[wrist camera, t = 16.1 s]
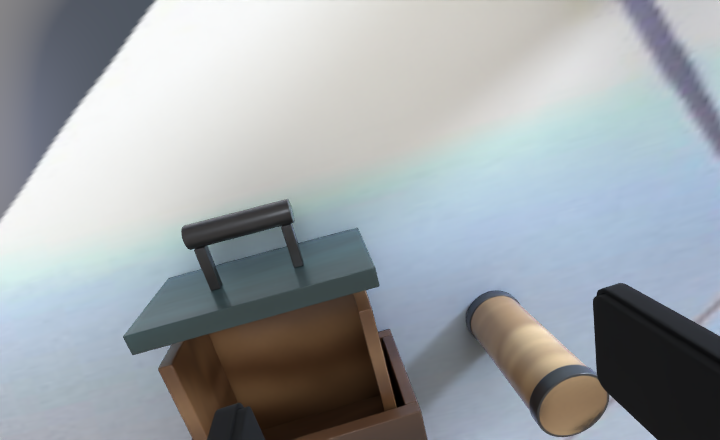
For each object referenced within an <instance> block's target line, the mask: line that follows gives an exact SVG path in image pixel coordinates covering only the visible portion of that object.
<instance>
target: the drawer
mask: <svg viewBox="0 0 720 440" xmlns="http://www.w3.org/2000/svg"><path fill="white" fill-rule="evenodd" d="M292 223H294V215H293V211H292V208H291V205H290V202H289V200H288V199H285V200H281V201H278V202H274V203H270V204H266V205H262V206H258V207H254V208H251V209H247V210H243V211H239V212H235V213H231V214H227V215H224V216H220V217H216V218H212V219H208V220H204V221H200V222H197V223H193V224H189V225H185V226H183V227H182V231H181V232H182V239H183V242H184V244H185V246H186V247H187V248H188V249H190V250H192V249H195V250H194V251H195V254H196V256H197V259H198V261H199V263H200V266H201V268H202V270H198V271H194V272H190V273H187V274H183V275H179V276H175V277H172V278H169V279H168V280H167V281H166V282H165V284H164V285H163V286H162V287H161V289H160V290H159V291H158V293H157V294H156V295H155V296H154V298H153V299H152V300H151V302H150V303H149V304H148V305H147V307H146V308H145V309H144V311H143V312H142V313H141V314H140V316H139V317H138V318H137V319H136V321H135V322H134V323H133V325H132V326H131V327H130V328H129V330H128V331H127V332H126V334H125V335H124V336H123V338H124V340H125V342H126V344H127V346H128V348H129V349H130V351H131V353H132V355H135V354H139V353H143V352H146V351H150V350H153V349H157V348H160V347H164V346H168V345H171V344H172V345H171V346H170V348H169V350H168V352H167V354H166V355H165V357H164V359H163V361H162V363H161V364H160V366H159V368H158V370H159V372H160V374H161V376H162V378H163V380H164V382H165V384H166V386H167V388H168V390H169V392H170V394H171V396H172V398H173V400H174V402H175V404H176V406H177V408H178V410H179V412H180V414H181V416H182V418H183V420H184V422H185V424H186V426H187V428H188V430H189V432H190V434H191V436H192V438H193V440H207V438H208V435H209V431H210V428H211V424H212V421H213V417H214V414H215V412H216V411H217V410H218V409H221V408H224V407H227V406H230V405H233V404H237V403H241V404H242V405H243V406H244V407H247V406H249V407H250V408H251V409H252V411H253V413H254V416H255V418H256V420H257V422H258V425H259V427H260V429H261V431H262V433H263V436H264V438H265V440H292V439H295V438H299V437H302V436H305V435H309V434H312V433H315V432H318V431H322V430H325V429H328V428H332V427H335V426H338V425H342V424H345V423H348V422H351V421H355V420H358V419H361V418H365V417H368V416H371V415H375V414H378V413H381V412H385V411H388V410H391V409H394V408H397V406H396V402H395V398H394V394H393V390H392V386H391V382H390V378H389V374H388V371H387V367H386V363H385V359H384V355H383V351H382V347H381V343H380V339H379V335H378V331H377V327H376V323H375V319H374V315H373V311H372V308H371V305H370V302H369V299H368V296H367V293H366V290H368V289H371V288H375V287H379V282H378V278H377V273H376V269H375V266H374V264H373V262H372V259H371V257H370V255H369V252H368V250H367V248H366V246H365V243H364V241H363V239H362V236H361V234H360V232H359V229H358V228H355V229H351V230H347V231H343V232H340V233H336V234H332V235H329V236H325V237H321V238H317V239H314V240H310V241H306V242H302V243H299V244H298V242H297V238H296V235H295V232H294V229H293V225H292ZM279 226H281V229H282V232H283V235H284V238H285V241H286V244H287V247H284V248H280V249H276V250H273V251H269V252H265V253H261V254H258V255H254V256H250V257H246V258H243V259H239V260H235V261H231V262H228V263H224V264H220V265H217V266H215V264H214V261H213V259H212V256H211V254H210V251H209V248H208V246H207V245H211V244H215V243H218V242H222V241H226V240H230V239H234V238H237V237H241V236H245V235H249V234H252V233H256V232H260V231H264V230H268V229H271V228H275V227H279Z"/></svg>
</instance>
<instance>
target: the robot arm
mask: <svg viewBox="0 0 720 440" xmlns="http://www.w3.org/2000/svg"><path fill="white" fill-rule="evenodd" d="M593 310H594V329H595V347H596V366H597V378H598V380H599V382H600V384H601V386H602V387H603V388H604V390H605V391H606V392H607V393H609V394H610V395H611V396H612V397H613V398H614V399H615V400H616V401H617V402H618V403H619V404H620V405H621V406H622V407H623V408H624V409H625V410H627V411H628V412H629V413H630V414H631V415H632V416H633V417H634V418H635V419H636V420H637V421H638V422H639V423H640V424H641V425H642V426H644V427H645V428H646V429H647V430H648V431H649V432H650V433H651V434H652V435H653V436H654V437H655V438H656V439H657V440H720V336H718V335H717V334H715V333H713V332H711V331H709V330H708V329H706V328H704V327H702V326H700V325H698V324H697V323H695V322H693V321H691V320H689V319H688V318H686V317H684V316H682V315H680V314H679V313H677V312H675V311H673V310H671V309H670V308H668V307H666V306H664V305H662V304H661V303H659V302H657V301H655V300H653V299H651V298H650V297H648V296H646V295H644V294H642V293H641V292H639V291H637V290H635V289H633V288H632V287H630V286H628V285H626V284H623V283H618V284H615V285H612V286H609V287H606V288H602V289H600V290H598V292H597V296H596V297H594V299H593ZM207 440H265V438H264V436H263V433H262V431H261V429H260V427H259V425H258V422H257V420H256V418H255V416H254V413H253V411H252V409H251V408H250V407H249V406H247V407H244V406H243V405H242V404H241V403H237V404H233V405H230V406H227V407H224V408H221V409H218V410H217V411H216V412H215V414H214V417H213V421H212V424H211V428H210V431H209V435H208V438H207Z"/></svg>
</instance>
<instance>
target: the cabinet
mask: <svg viewBox="0 0 720 440" xmlns="http://www.w3.org/2000/svg"><path fill="white" fill-rule="evenodd" d="M378 335H379V339H380V343H381V347H382V351H383V355H384V359H385V363H386V367H387V371H388V374H389V378H390V382H391V386H392V390H393V394H394V398H395V402H396V406H397V408H394V409H391V410H388V411H385V412H381V413H378V414H375V415H371V416H368V417H365V418H361V419H358V420H355V421H351V422H348V423H345V424H342V425H338V426H335V427H332V428H328V429H325V430H322V431H318V432H315V433H312V434H309V435H305V436H302V437H299V438H295V439H292V440H427V435H426V431H425V426H424V422H423V418H422V413H421V410H420V407H419V404H418V402H417V399H416V397H415V394H414V391H413V389H412V386H411V384H410V381H409V378H408V376H407V373H406V370H405V368H404V365H403V363H402V360H401V357H400V355H399V352H398V349H397V347H396V344H395V342H394V339H393V336H392V334H391V331H390V329H387V330H384V331H381V332H378ZM192 440H193V438H192Z"/></svg>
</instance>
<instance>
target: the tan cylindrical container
mask: <svg viewBox="0 0 720 440" xmlns="http://www.w3.org/2000/svg"><path fill="white" fill-rule="evenodd" d="M466 323H467V327H468V329H469V331H470V332H471V333H472V335H473V336H474V337H475V338H476V339H477V340H478V341H479V342H480V344H481V345H482V346H483V348H484V349H485V350H486V352H487V353H488V354H489V356H490V357H491V359H492V360H493V361H494V363H495V364H496V365H497V367H498V368H499V369H500V371H501V372H502V373H503V375H504V376H505V378H506V379H507V380H508V382H509V383H510V384H511V386H512V387H513V388H514V390H515V391H516V392H517V394H518V395H519V396H520V398H521V399H522V401H523V402H524V403H525V405H526V406H527V407H528V409H529V410H530V412H531V415H532V417H533V418H534V420H535V421H536V422H537V424H538V425H539V426H540V428H541V429H542V430H543V431H544V432H546V433H547V434H549V435H552V436H556V437H568V436H573V435H576V434H579V433H581V432H583V431H585V430H587V429H588V428H590V427H591V426H592V425H594V424H595V423H596V422H597V421H598V420H599V419H600V417H601V416H602V415H603V413H604V412H605V410H606V408H607V405H608V402H609V393H607V392H606V391H605V390H604V388H603V387H602V386H601V384H600V382H599V380H598V378H597V374H596V373H595V372H594V371H593V370H592V369H590V368H589V367H586V366H585V365H584V364H583V363H582V362H581V361H580V360H579V359H578V358H577V357H576V356H575V355H573V354H572V353H571V352H570V351H569V350H568V349H567V348H566V347H565V346H564V345H563V344H562V343H560V342H559V341H558V340H557V339H556V338H555V337H554V336H553V335H552V334H551V333H550V332H549V331H548V330H546V329H545V328H544V327H543V326H542V325H541V324H540V323H539V322H538V321H537V320H536V319H535V318H534V317H532V316H531V315H530V314H529V313H528V312H527V311H526V310H525V309H524V308H523V307H522V306H521V305H520V304H519V302H518V301H517V300H516V299H515V298H514V297H513V296H511V295H510V294H509V293H506V292H503V291H491V292H487V293H485V294H483V295H481V296H479V297H478V298H477V299H476V300H475V301H474V302H473V303H472V304H471V306H470V307H469V309H468V312H467V316H466Z"/></svg>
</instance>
